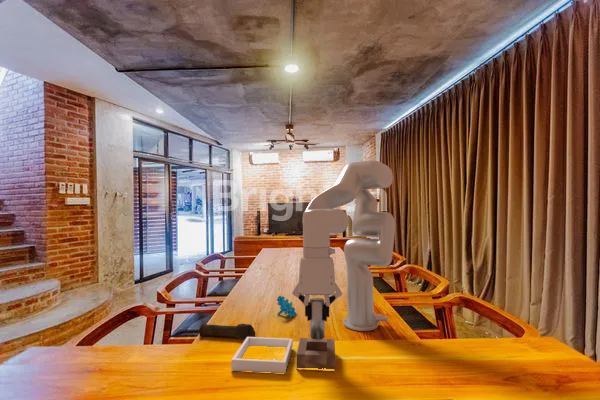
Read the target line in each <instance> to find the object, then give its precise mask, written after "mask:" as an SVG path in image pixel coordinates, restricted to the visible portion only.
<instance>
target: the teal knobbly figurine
mask: <svg viewBox="0 0 600 400" xmlns="http://www.w3.org/2000/svg"><path fill="white" fill-rule="evenodd" d="M276 301H277V306H280V307H279V311H278V312H277V316H280V315H281V314H282V313H284V315H287V316H288V317H289V318H291V317H292V318H294V317H296V314H297V312H296V309H295V307H294V306H293V302H292V301H289V299H288V298H286V299H285V297H284V296H281V295H279V296H278V297H277V298H276Z"/></svg>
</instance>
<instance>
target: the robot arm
mask: <svg viewBox="0 0 600 400" xmlns="http://www.w3.org/2000/svg"><path fill="white" fill-rule="evenodd" d="M393 180H394V175H393V171H392V169H391V168H390V166H388V165H387V164H384V163H383V162H381V161H378V160H374V159H371V160H370V159H369V160H363V161H361V160H360V161H354V162H353V161H352V162H349V163H348V164H346V165H345V166H344V167H343V169H342V170H341V172H340V174H339V176H338V177H337V179H336V181H335V182H334V184H333V185H332V186H330V187H329V188H327V189H326V190H324V191H322V192H320V193H319V194H318V195H316V196H315V197H314V198H312V200H311V201H310V202H309V203H308V206H307V207H306V209H305V210H304V211H303V214H302V246H303V247H302V249H303V250H302V254H303V255H302V257H300V260H299V267H298V268H299V269H298V282H297V284H296V285H295V287H294V288H293V290H292V293H291V294H292V295H293V296H294V297H296V298H297V299H298V300H299V301H300V302H301V303H302V304H303V306H304V317H307V322H310V297H311V296H323V297H324V298H323V299H324V321H325V322H327V321H328V318H330V306H331V305H332V304H333V302H335V300H336V299H338V298H340V297H341V296H342V295H343V292H342V290H341V288H340V287H339V286H338V284H337V282H336V276H335V275H336V273H335V263H334V260H333V257H331V255H333V254H335V255H336V248H331V239H330V238H331V237H330V236H331V235H330V234H334V235H335V234H336V235H337V234H342V233H344V232H346V230H347V229H348V226H349V225H350V224H349V223H350V222H349V221H350V220H349V216H348V214H347V212H345V211H344V210H342V209H340V207H343V206H345V205H348V204H349V203H352V202H353V201H355V204H354V205H355V206H354V213H353V218H352V225H351V227H352V228H351V229H352V232H353V234H354V235H356V236H358V237H355V238H350V239H347V241H346V242H345V244H344V247H343V252H344V255H343V256H344V259H345V265H346V298H347V299H346V307H347V309H346V310H347V313H346V314H347V317H345V318H344V319H342V322H343V323H342V325H344V327H346V328H347V329H350V330H353V331H357V332H358V331H360V332H369V331H374V330H377V328H378V327H379V322H386V323H387V322H388V316H387V315H383V314H381V313H379V314H376V313H375V311H374V276H373V274H372V271H371V269H370V268H369V266H376V267H387V266H390V264H391V263H392V260H393V255H394V254H393V253H394V245H395V235H396V221H395V218H394V216H393V214H392V213H390V212H386V211H377V209H378V201H377V198H376V197H375V196H374V195H373V194H372V193H371V192H370V191H369V190H371V189H372V190H373V189H374V190H375V189H387V188H389V187H391V185H392V183H393ZM359 237H360V238H359ZM361 237H366V238H361ZM376 238H377V239H376Z"/></svg>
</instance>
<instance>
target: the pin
mask: <svg viewBox="0 0 600 400" xmlns="http://www.w3.org/2000/svg"><path fill="white" fill-rule="evenodd" d="M309 301H310V320H309V322H310V323H309V326H310V328H309V330H310V331H309V332H310V333H309V335H310V336H309V338H312V339H316V340H320V339H325V337H326V335H325V332H326V331H325V325H326V324H325V322H326V321H324V304H325V298H322V297H312V298H309Z"/></svg>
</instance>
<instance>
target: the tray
mask: <svg viewBox="0 0 600 400" xmlns="http://www.w3.org/2000/svg"><path fill="white" fill-rule="evenodd" d="M293 340H294V339H293V338H288V337H287V338H283V337H282V338H281V337H262V336H261V337H260V336H258V337H257V336H255V337H247V338H246V339H245V340H243V342H242V343H241V345H240V347H239V348H238V349H237V351H236V352H235V353H234V355H233V357H232V358H231V363H230V365H231V370H233V371H252V372H271V373H284V374H286V375H287V371H286V369H287V370H288V368H287V365H288V366H289V364H288V362H289V363H290V360H289V358H290V359H291V357H290V354H291V355H292V353H291V350H292V351H293V349H292V347H293ZM249 346H267V347H285V348H286V347H287V349H286V353H285V356H284V359H283V361H278V360H275V359H274V358H273V360H259V359H241V358H242V357H243V355H244V353H245V352H246V350H247V348H248V347H249Z"/></svg>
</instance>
